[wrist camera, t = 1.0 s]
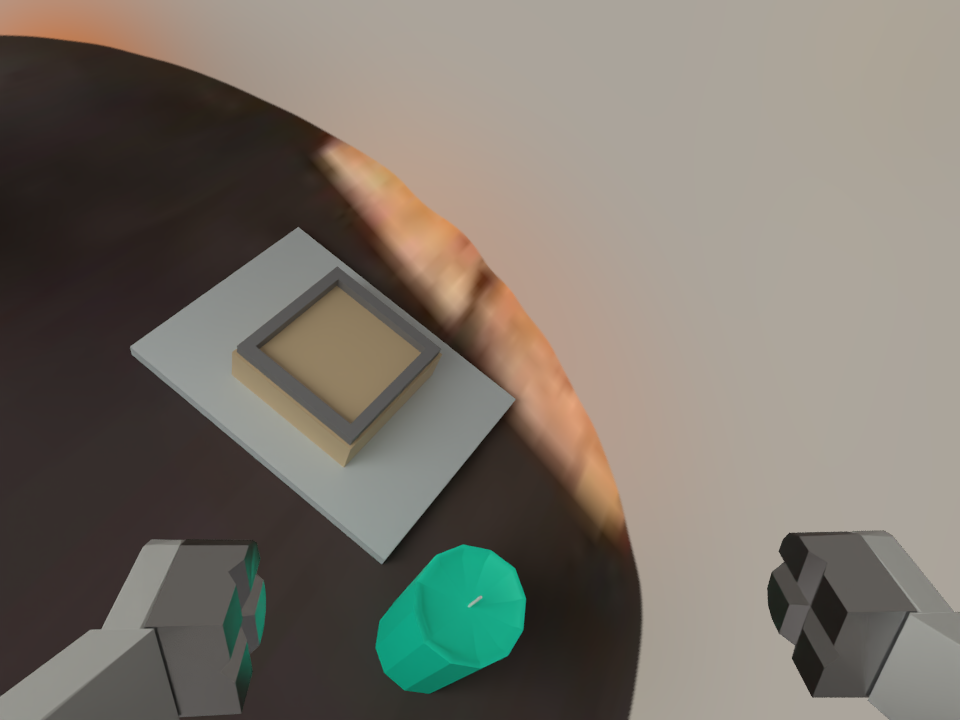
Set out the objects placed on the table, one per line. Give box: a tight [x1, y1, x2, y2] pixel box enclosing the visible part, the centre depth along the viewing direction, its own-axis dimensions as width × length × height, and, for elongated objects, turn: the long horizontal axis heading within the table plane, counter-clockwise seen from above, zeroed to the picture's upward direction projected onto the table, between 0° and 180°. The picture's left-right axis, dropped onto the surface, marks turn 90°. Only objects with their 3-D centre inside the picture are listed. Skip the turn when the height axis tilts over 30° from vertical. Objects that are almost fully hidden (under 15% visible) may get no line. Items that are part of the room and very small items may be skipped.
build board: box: [130, 227, 516, 564], centre depth 49 cm, size 22×16×5 cm
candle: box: [376, 545, 526, 694], centre depth 39 cm, size 6×6×12 cm
